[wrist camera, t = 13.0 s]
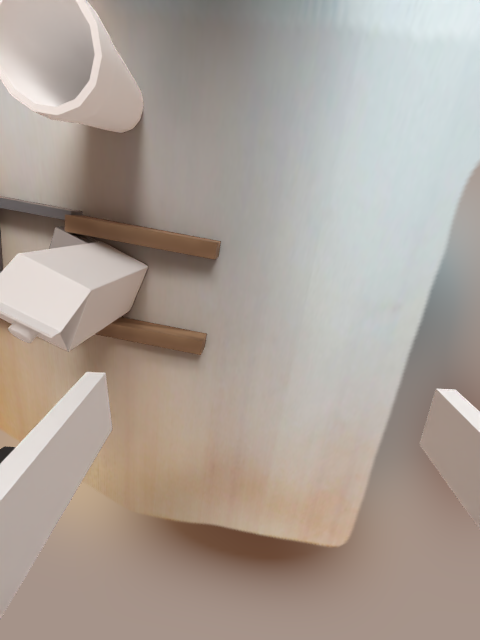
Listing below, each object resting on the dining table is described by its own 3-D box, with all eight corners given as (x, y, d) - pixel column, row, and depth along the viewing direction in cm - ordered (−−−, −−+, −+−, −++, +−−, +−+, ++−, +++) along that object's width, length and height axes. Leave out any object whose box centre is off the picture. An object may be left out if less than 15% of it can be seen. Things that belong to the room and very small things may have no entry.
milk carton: (101, 240, 43) (-21, 257, 25) (149, 265, 43) (64, 300, 25) (84, 286, 45) (-38, 333, 27) (130, 310, 45) (40, 371, 27)
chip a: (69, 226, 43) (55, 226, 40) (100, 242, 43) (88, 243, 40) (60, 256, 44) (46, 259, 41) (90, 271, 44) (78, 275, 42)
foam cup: (120, 164, 40) (53, 140, 27) (63, 101, 38) (-35, 46, 26) (172, 103, 37) (125, 46, 25) (114, 33, 36) (32, -65, 23)
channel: (78, 214, 42) (64, 214, 39) (220, 241, 41) (217, 243, 39) (77, 321, 47) (64, 328, 44) (204, 346, 46) (200, 354, 43)
